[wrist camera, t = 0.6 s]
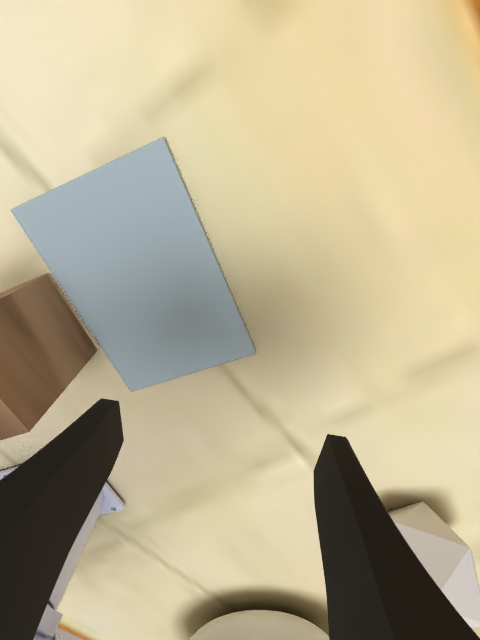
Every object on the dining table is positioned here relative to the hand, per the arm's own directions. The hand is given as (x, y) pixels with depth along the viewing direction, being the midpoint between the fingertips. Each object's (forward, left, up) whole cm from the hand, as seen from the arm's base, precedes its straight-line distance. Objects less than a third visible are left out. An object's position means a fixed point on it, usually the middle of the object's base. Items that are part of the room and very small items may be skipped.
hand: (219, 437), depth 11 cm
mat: (-5, +3, -11) cm, 13 cm away
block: (-12, +3, -11) cm, 17 cm away
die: (+7, -26, -11) cm, 29 cm away
